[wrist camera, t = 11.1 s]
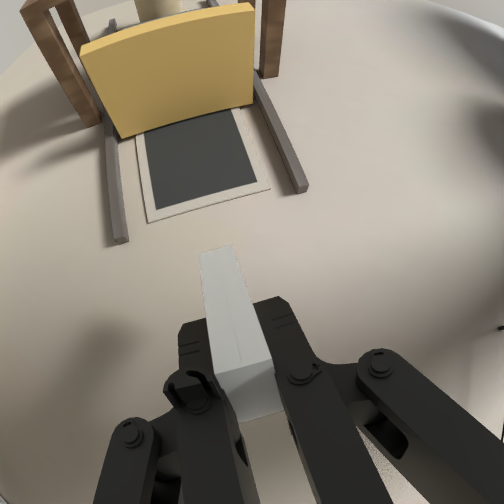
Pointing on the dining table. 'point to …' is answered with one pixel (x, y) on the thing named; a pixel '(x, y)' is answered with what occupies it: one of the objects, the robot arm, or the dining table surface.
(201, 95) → the yellow panel grey frame
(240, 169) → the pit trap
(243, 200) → the dining table surface
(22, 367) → the dining table surface
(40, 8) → the wooden stand with rails
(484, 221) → the dining table surface
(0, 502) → the tea box
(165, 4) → the candle
